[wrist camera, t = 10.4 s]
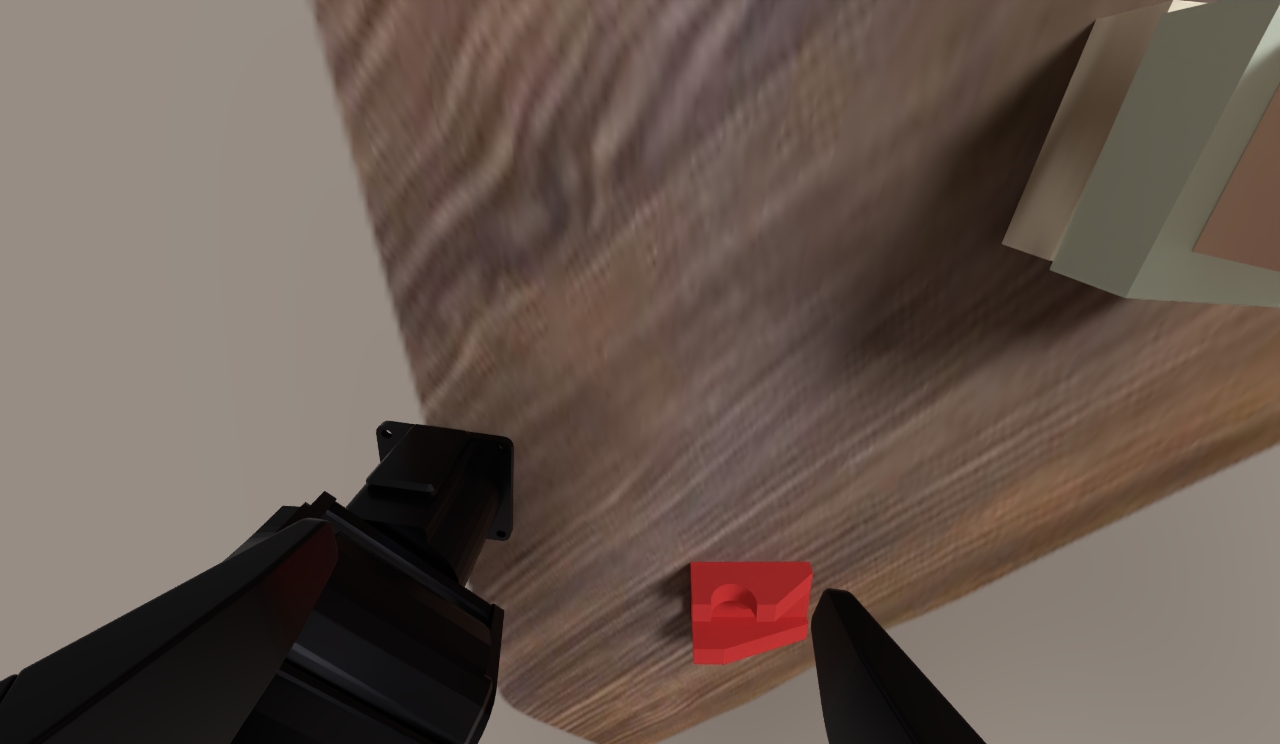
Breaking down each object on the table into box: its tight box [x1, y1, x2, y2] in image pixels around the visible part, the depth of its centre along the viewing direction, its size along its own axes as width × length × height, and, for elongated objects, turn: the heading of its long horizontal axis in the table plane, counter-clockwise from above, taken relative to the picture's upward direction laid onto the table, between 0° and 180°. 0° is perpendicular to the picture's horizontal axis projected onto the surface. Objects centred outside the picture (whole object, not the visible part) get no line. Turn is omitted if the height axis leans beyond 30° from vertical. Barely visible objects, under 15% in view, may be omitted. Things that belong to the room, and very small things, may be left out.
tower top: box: [1050, 0, 1280, 307], centre depth 13 cm, size 7×7×3 cm
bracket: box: [690, 562, 813, 665], centre depth 26 cm, size 6×5×3 cm
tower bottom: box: [1002, 0, 1207, 261], centre depth 16 cm, size 7×7×3 cm
